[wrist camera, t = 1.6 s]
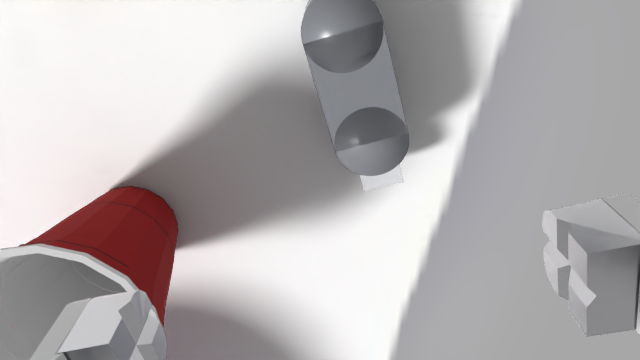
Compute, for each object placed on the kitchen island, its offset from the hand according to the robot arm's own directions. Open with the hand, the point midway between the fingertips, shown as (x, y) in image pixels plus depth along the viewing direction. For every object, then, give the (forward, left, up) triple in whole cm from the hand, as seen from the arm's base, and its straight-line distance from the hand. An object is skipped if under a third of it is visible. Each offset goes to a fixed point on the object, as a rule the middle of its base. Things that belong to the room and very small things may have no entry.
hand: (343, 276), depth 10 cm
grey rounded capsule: (-1, +1, -21) cm, 21 cm away
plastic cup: (+16, +7, -22) cm, 28 cm away
